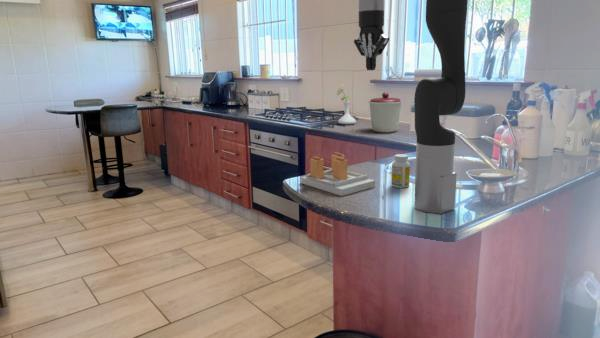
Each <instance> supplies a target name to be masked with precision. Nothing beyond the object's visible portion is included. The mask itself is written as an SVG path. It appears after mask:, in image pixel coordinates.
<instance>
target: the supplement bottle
mask: <svg viewBox="0 0 600 338" xmlns="http://www.w3.org/2000/svg"><path fill="white" fill-rule="evenodd" d="M410 171H411V164H410V162H409V155H408V154H405V153H404V154H403V153H398V154H394V161H393V162H392V163H391V182H390V183H391V186H392V187H394V188H397V189H398V188H399V189H403V188H405V189H406V188H407V187H410Z"/></svg>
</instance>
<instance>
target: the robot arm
mask: <svg viewBox="0 0 600 338" xmlns="http://www.w3.org/2000/svg"><path fill="white" fill-rule="evenodd" d="M468 1H469V0H426V2H425V3H426V4H425V24H426V28H427V29H428V32H429V34H430V36H431V37H432V40H433V43H434V44H435V46H436V48H437V50H438V52H439V55H440V63H441V74H440V75H441V77H427V78H423V79H421V80H420V81H419V82H418V83H417V85H416V88H415V92H414V101H413V102H414V103H413V104H414V108H413V109H414V130H415V134H416V152H415V153H416V154H415V176H414V177H415V178H414V205H413V206H414V208H415V209H416V210H418V211H421V212H425V213H430V214H431V213H433V214H438V215H439V214H440V215H441V214H442V215H443V214H445V213H446V212H447V213H448V212H450V211H452V210H453V211H454V210H455V207H456V194H457V193H456V190H457V173H456V172H454V162H455V161H454V160H455V145H456V144H455V143H456V133H455V131H453V130H451V129H448V128H445V127H443V126H442V124H441V121H440V120H441V119H440V116H450V115H455V114H458V113H459V112H460V111H461V110H462V108H463V106H464V103H465V99H466V62H465V49H466V48H465V46H466V41H465V40H466V28H467V27H466V24H467V17H468V15H467V14H468V3H469V2H468ZM384 25H385V0H358V28H360V29H359V36H358V38H357V39H354V40H353V43H354V45H355V47H356V49H357V51H358V52H359V54H360V55H361V56H363V57H365V69H366V70H367V71H375V69H376V68H377V67H376V66H377V58H378V56H381V55H382V54H383V52H384V50H385V48H386V46H387V45H388V43H389V41H390V37H389V36H386V35H385V34H384V30H383V27H384Z"/></svg>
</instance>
